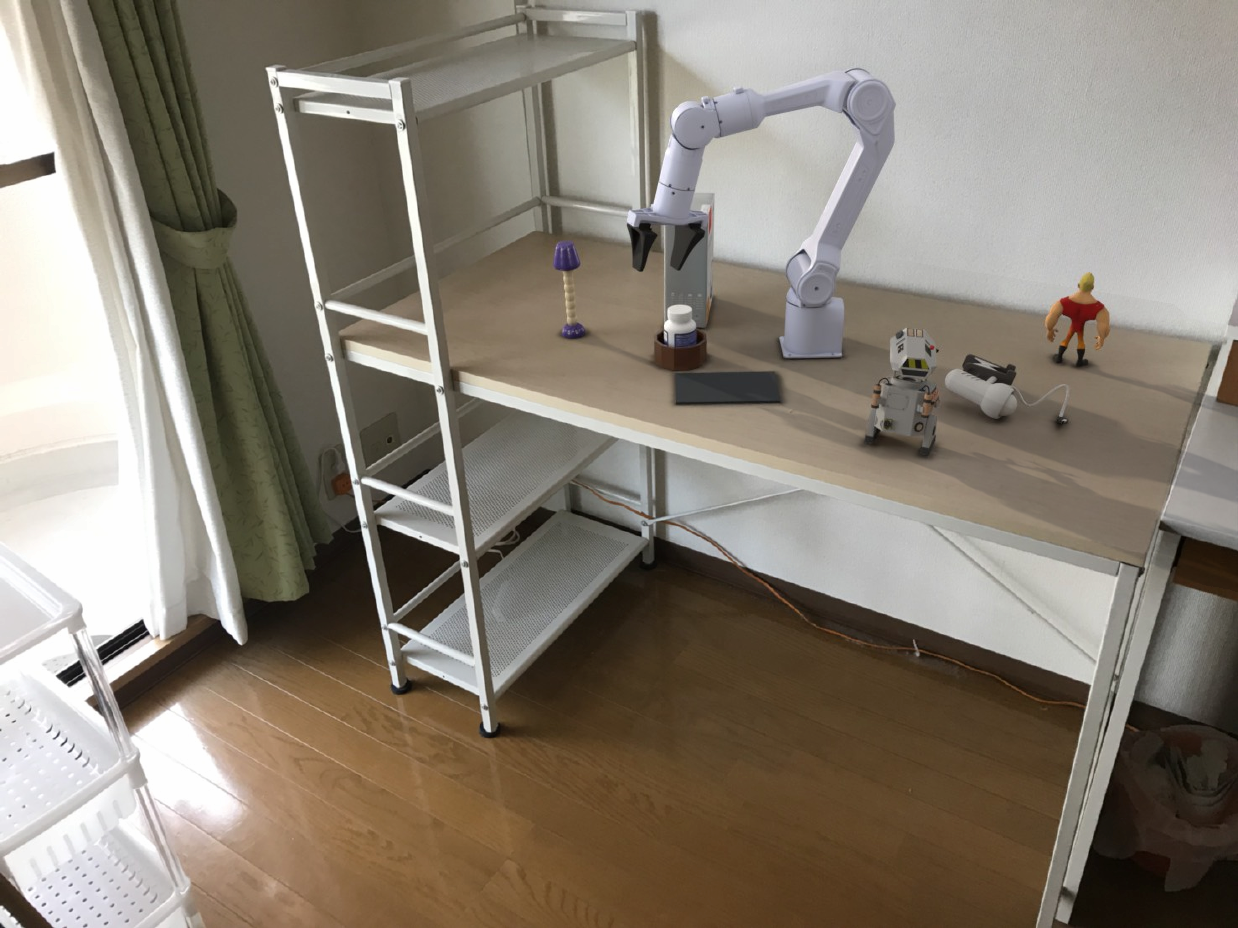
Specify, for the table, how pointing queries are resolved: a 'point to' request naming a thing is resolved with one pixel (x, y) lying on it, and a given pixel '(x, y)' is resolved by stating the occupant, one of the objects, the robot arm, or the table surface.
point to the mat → (726, 388)
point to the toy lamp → (568, 285)
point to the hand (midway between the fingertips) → (656, 268)
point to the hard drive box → (692, 267)
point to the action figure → (1079, 318)
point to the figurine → (907, 391)
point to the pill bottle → (680, 327)
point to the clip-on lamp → (992, 387)
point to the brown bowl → (680, 353)
